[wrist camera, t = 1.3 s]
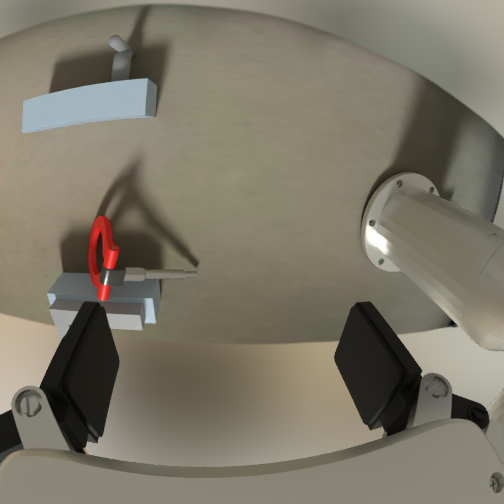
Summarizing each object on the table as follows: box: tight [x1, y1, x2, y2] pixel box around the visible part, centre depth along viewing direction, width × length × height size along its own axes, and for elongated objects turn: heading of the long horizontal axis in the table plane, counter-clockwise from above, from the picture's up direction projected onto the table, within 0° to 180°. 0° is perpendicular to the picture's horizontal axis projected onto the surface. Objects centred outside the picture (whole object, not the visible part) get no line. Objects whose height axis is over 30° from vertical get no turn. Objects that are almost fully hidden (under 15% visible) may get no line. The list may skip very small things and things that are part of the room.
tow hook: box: [88, 216, 198, 301], centre depth 26 cm, size 7×10×7 cm
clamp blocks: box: [22, 35, 161, 338], centre depth 21 cm, size 12×28×6 cm, turn 175°
